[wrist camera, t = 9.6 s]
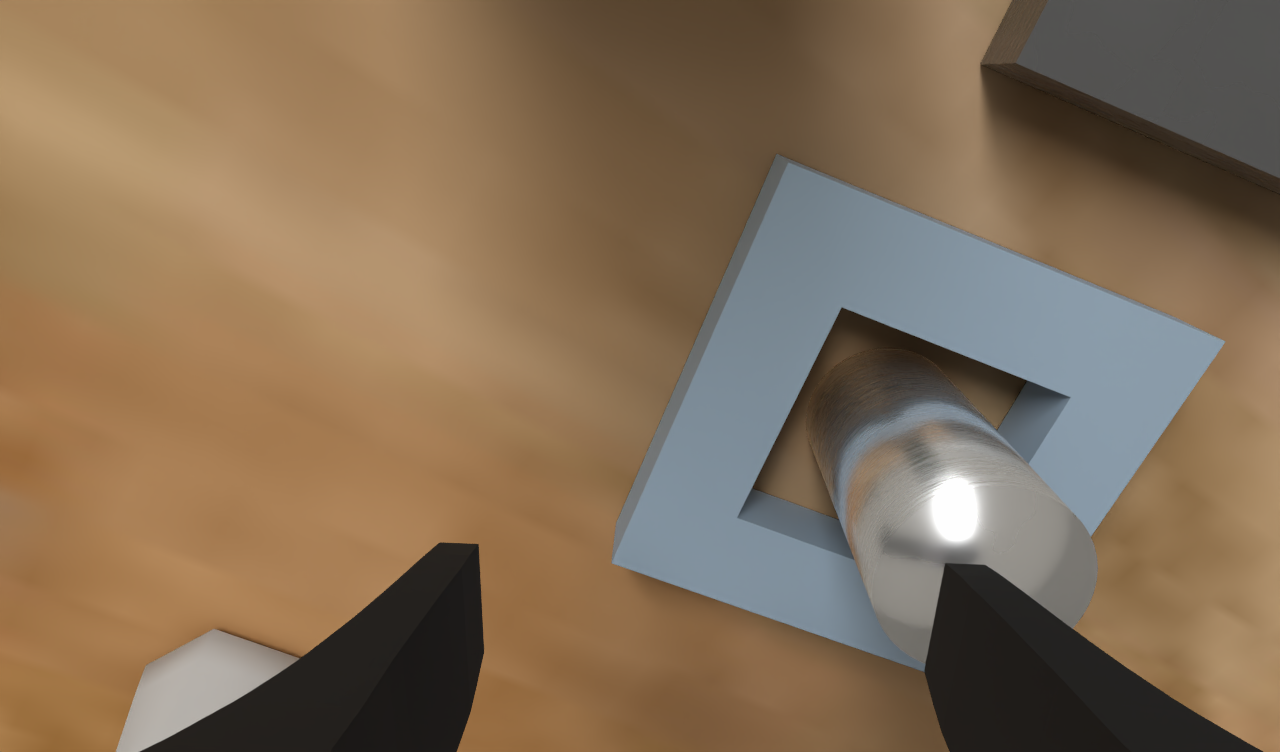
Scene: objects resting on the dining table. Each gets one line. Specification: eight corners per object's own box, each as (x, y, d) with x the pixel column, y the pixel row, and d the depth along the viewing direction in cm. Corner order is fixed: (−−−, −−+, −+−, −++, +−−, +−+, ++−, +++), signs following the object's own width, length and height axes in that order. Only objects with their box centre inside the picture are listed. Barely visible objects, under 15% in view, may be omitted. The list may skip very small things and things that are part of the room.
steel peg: (987, 389, 21) (1145, 545, 14) (902, 506, 22) (1007, 702, 15) (857, 322, 21) (955, 449, 14) (778, 446, 22) (829, 620, 15)
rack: (1174, 316, 20) (1225, 341, 18) (958, 644, 24) (983, 692, 22) (776, 153, 19) (788, 162, 17) (615, 523, 23) (611, 563, 21)
